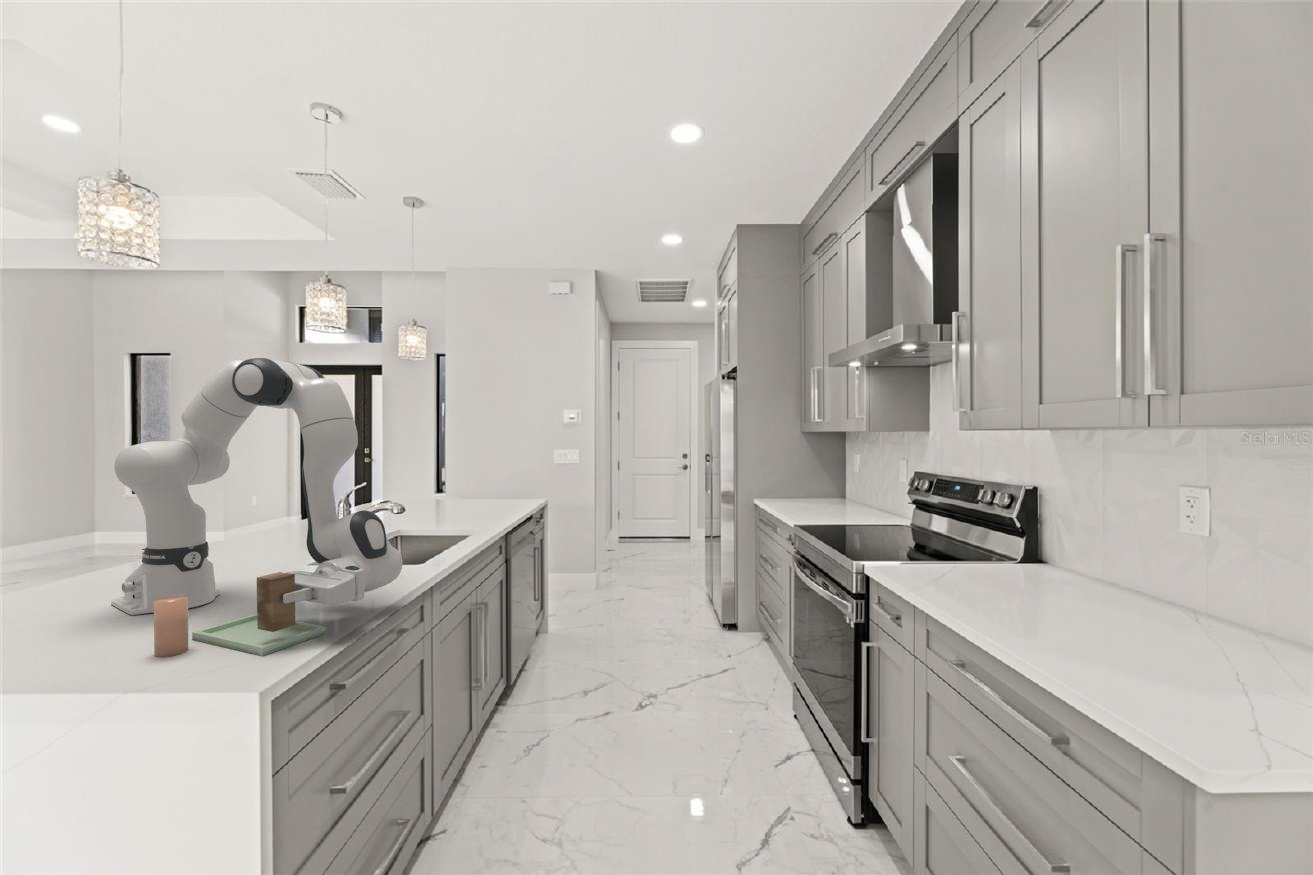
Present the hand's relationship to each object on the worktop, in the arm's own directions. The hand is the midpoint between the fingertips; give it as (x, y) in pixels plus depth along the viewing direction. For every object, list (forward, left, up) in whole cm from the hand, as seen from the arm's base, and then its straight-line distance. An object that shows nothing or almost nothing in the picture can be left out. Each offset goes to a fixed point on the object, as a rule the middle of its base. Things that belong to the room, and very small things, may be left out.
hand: (271, 597), depth 117 cm
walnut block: (0, +1, -6) cm, 6 cm away
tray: (-7, +2, -9) cm, 12 cm away
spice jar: (-14, -10, -9) cm, 20 cm away
